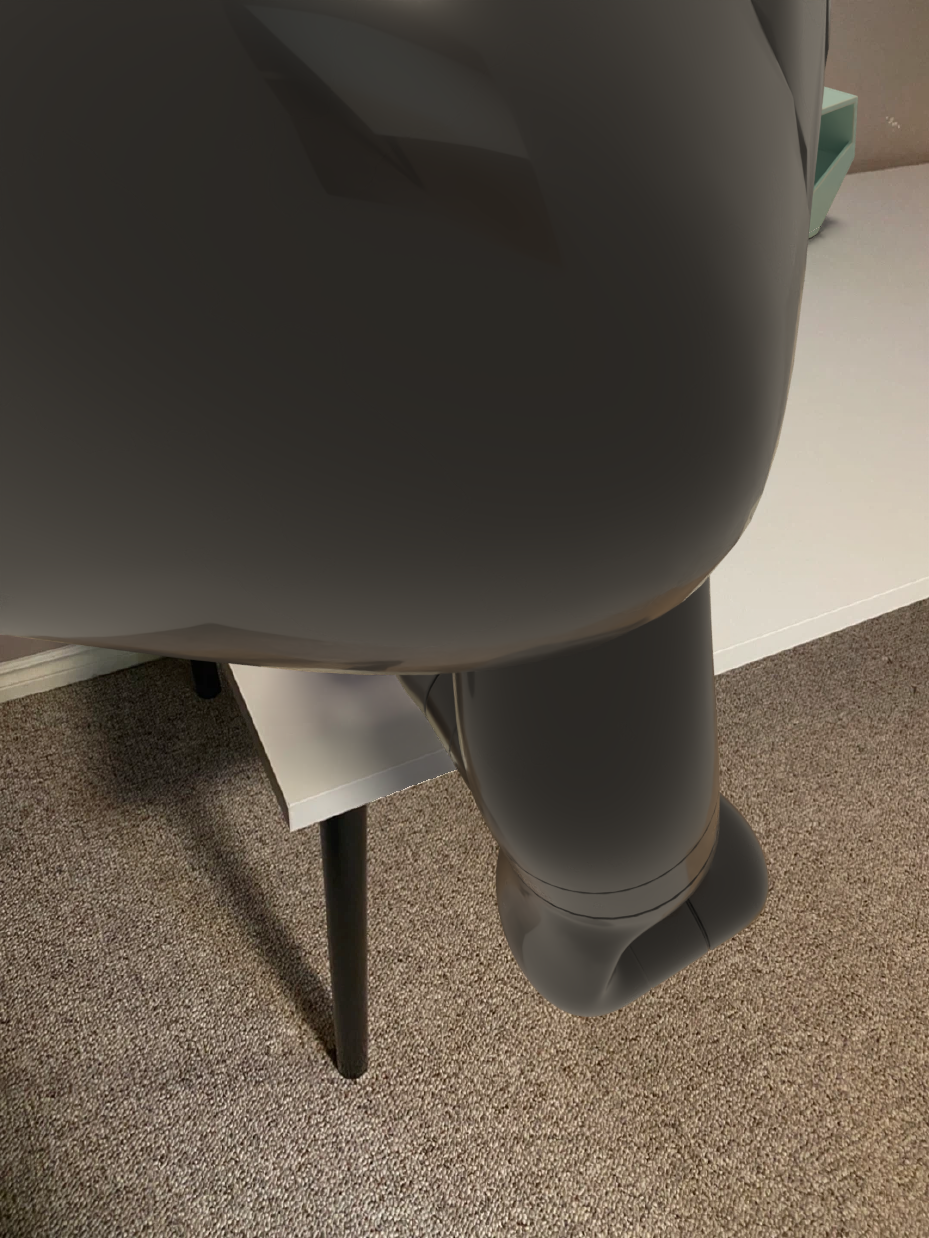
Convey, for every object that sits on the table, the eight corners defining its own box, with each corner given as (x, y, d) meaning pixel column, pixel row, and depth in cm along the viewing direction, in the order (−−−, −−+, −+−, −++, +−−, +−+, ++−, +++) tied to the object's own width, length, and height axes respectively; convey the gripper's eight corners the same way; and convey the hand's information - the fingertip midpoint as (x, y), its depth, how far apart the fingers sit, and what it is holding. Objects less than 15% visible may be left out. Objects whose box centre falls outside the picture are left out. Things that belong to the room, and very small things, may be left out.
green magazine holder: (780, 281, 126) (776, 166, 108) (732, 261, 130) (720, 147, 111) (853, 187, 127) (861, 57, 109) (803, 170, 131) (803, 42, 112)
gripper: (580, 529, 47) (437, 369, 57) (311, 605, 42) (207, 413, 52) (560, 632, 52) (432, 468, 62) (318, 711, 47) (223, 518, 57)
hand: (330, 444), depth 57 cm, fingers closed on bottle, 5 cm apart
